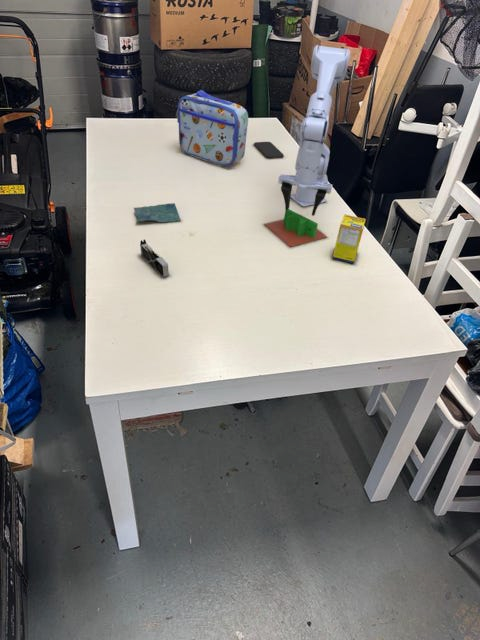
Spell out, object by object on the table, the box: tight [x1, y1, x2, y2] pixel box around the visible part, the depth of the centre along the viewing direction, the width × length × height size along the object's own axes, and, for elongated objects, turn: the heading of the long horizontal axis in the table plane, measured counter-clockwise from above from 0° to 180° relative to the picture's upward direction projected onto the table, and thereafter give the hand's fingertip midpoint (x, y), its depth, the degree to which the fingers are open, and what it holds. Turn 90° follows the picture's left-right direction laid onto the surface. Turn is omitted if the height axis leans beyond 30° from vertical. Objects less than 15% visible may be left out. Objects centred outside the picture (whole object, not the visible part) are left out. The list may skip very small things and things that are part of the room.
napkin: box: [264, 219, 327, 248], centre depth 136 cm, size 13×14×1 cm
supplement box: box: [332, 214, 367, 265], centre depth 124 cm, size 6×6×11 cm
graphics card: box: [139, 239, 170, 278], centre depth 116 cm, size 12×3×5 cm, turn 37°
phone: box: [253, 141, 285, 159], centre depth 181 cm, size 7×1×15 cm
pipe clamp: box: [283, 208, 318, 238], centre depth 134 cm, size 11×4×5 cm, turn 46°
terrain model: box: [133, 202, 181, 223], centre depth 136 cm, size 13×8×2 cm, turn 108°
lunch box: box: [175, 89, 249, 167], centre depth 165 cm, size 28×10×22 cm, turn 58°
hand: (300, 211), depth 131 cm, fingers open, 7 cm apart
